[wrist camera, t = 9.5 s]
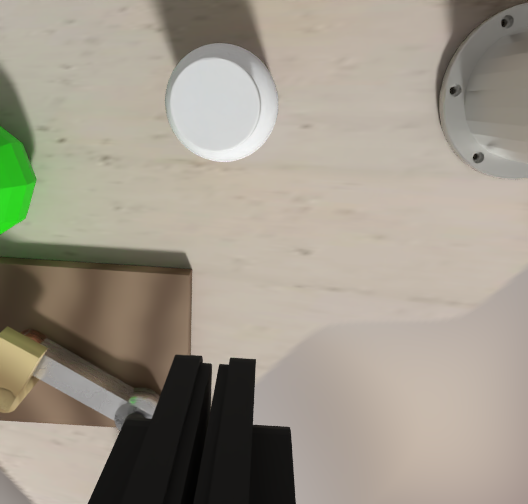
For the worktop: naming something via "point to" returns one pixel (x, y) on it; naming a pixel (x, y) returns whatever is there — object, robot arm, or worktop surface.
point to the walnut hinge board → (88, 330)
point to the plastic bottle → (14, 181)
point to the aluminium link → (91, 383)
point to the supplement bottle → (221, 102)
